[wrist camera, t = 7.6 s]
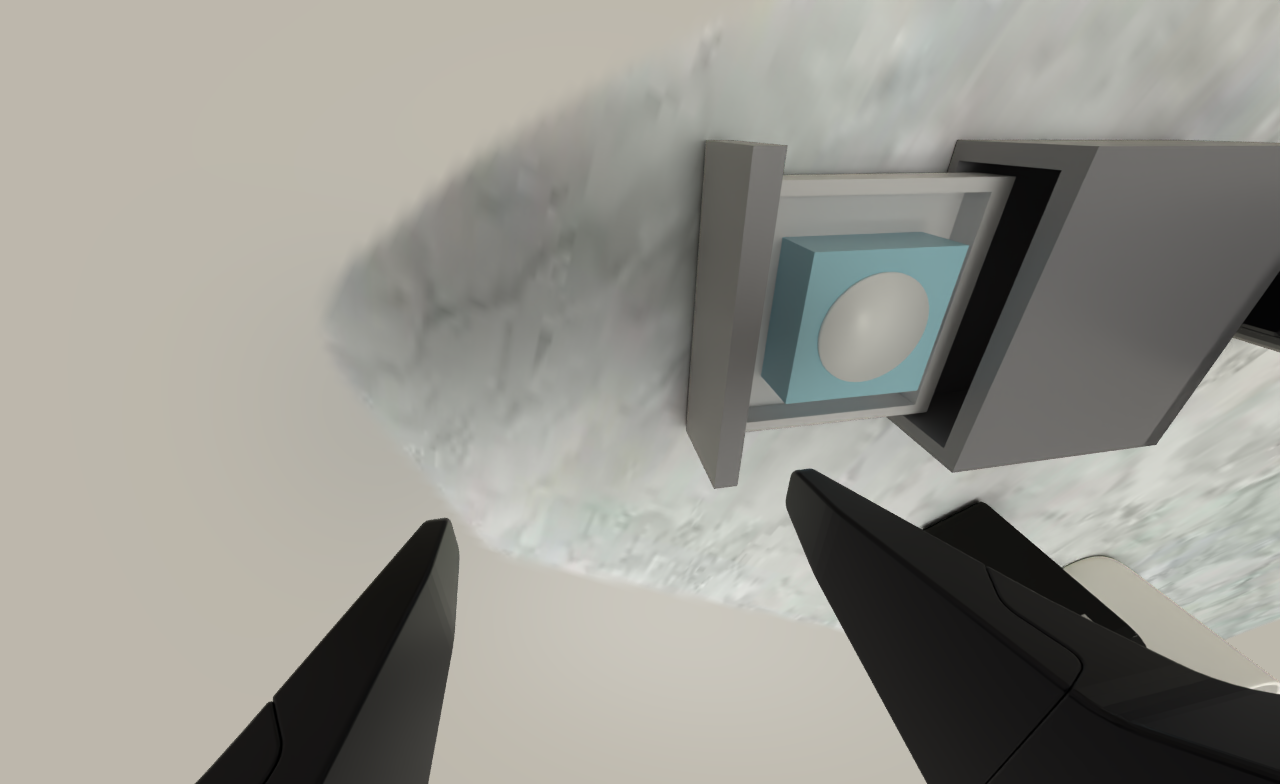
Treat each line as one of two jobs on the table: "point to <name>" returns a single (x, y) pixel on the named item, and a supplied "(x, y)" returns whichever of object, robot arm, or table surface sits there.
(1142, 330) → the grey drawer box
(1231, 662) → the cup
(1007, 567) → the electronic device
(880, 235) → the block
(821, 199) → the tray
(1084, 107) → the table surface
